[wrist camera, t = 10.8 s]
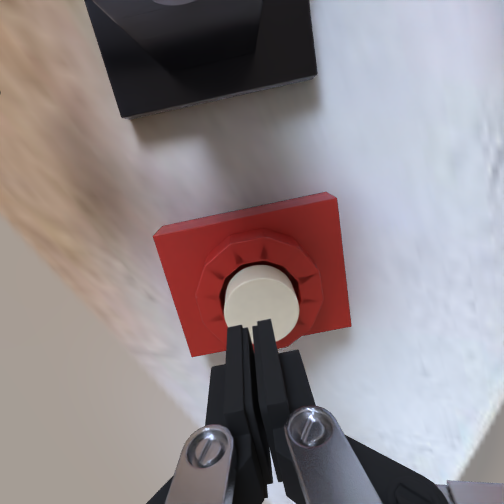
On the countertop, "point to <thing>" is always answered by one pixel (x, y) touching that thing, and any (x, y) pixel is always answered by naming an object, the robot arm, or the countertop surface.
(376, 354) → the countertop surface
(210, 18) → the lever bracket
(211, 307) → the button housing
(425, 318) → the countertop surface
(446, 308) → the countertop surface
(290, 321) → the white push button
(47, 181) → the countertop surface
